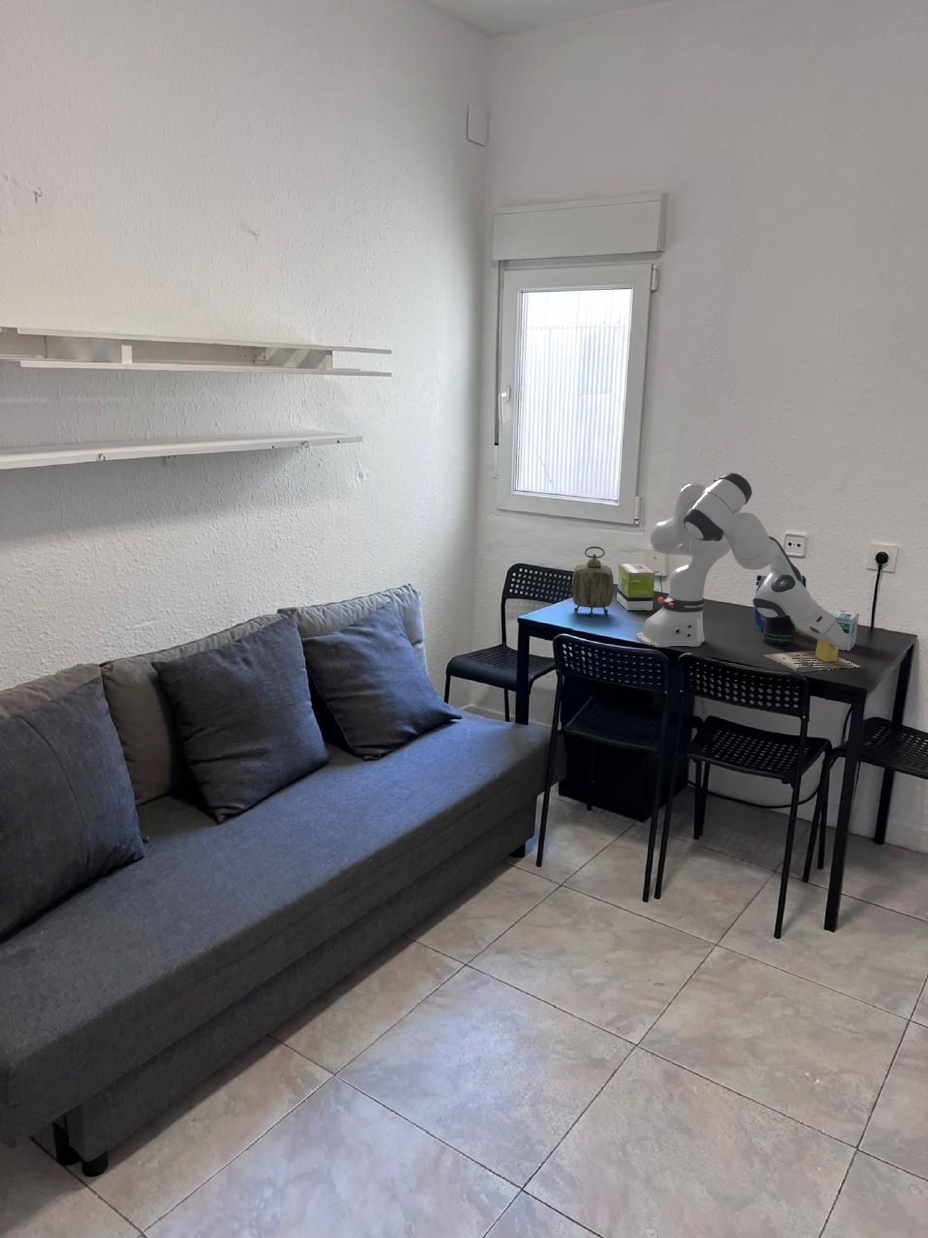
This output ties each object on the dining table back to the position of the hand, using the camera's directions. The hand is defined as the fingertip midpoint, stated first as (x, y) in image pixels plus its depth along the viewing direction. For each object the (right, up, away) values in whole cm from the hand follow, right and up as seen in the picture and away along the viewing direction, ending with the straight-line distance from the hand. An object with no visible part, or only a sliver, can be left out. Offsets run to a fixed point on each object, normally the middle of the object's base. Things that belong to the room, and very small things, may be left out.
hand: (830, 644), depth 292 cm
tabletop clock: (-68, +9, +46) cm, 83 cm away
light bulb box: (+10, -1, +16) cm, 19 cm away
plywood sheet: (-6, -5, -1) cm, 8 cm away
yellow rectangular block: (-1, -5, +1) cm, 5 cm away
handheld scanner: (-6, +4, +32) cm, 33 cm away
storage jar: (-11, 0, +17) cm, 20 cm away
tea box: (-50, +13, +61) cm, 80 cm away
